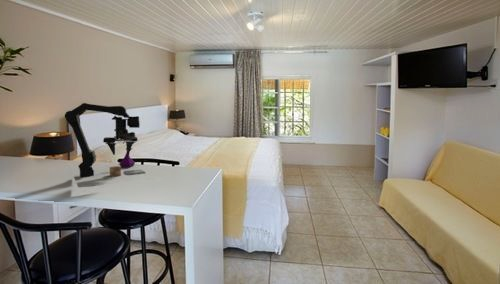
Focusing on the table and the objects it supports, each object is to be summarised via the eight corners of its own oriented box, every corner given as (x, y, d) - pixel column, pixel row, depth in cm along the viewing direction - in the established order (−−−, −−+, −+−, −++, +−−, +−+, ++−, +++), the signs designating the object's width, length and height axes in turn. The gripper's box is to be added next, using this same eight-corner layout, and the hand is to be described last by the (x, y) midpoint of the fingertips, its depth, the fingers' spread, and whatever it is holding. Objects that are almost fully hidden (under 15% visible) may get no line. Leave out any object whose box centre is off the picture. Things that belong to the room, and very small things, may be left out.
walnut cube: (111, 176, 167) (111, 168, 167) (109, 175, 171) (109, 166, 171) (120, 175, 170) (120, 167, 169) (119, 174, 174) (118, 166, 174)
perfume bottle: (135, 167, 197) (134, 140, 196) (129, 169, 190) (128, 141, 188) (124, 167, 198) (123, 140, 196) (118, 169, 191) (117, 141, 189)
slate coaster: (127, 175, 171) (127, 173, 171) (123, 172, 180) (123, 171, 180) (145, 173, 177) (145, 171, 177) (140, 170, 185) (140, 169, 185)
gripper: (114, 128, 160) (114, 156, 162) (143, 127, 176) (143, 153, 177) (102, 127, 167) (103, 155, 168) (131, 127, 182) (132, 152, 183)
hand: (121, 154), depth 174 cm, fingers open, 9 cm apart
